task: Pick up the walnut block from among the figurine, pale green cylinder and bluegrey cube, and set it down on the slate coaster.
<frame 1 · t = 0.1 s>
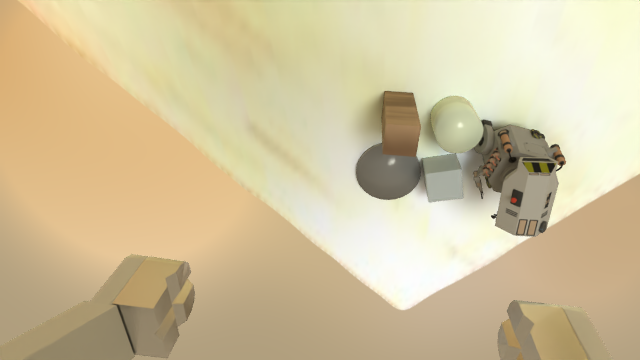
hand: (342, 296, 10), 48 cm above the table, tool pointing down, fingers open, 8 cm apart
pale green cylinder: (451, 115, 56), on the table
bluegrey cube: (440, 169, 61), on the table
slate coaster: (387, 170, 62), on the table
walnut block: (397, 105, 57), on the table
figurine: (499, 150, 58), on the table
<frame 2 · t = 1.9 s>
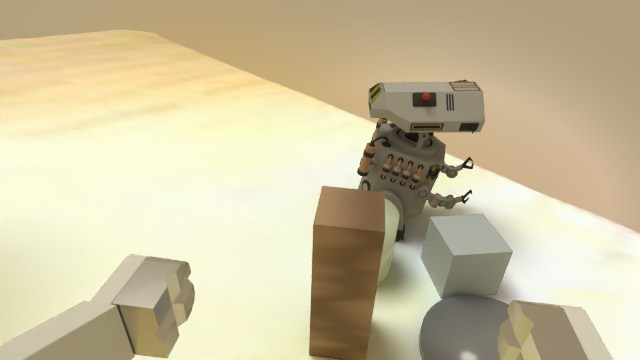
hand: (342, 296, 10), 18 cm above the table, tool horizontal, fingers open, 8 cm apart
pale green cylinder: (357, 263, 36), on the table
bluegrey cube: (456, 275, 36), on the table
slate coaster: (488, 355, 29), on the table
walnut block: (339, 335, 30), on the table
figurine: (406, 218, 43), on the table
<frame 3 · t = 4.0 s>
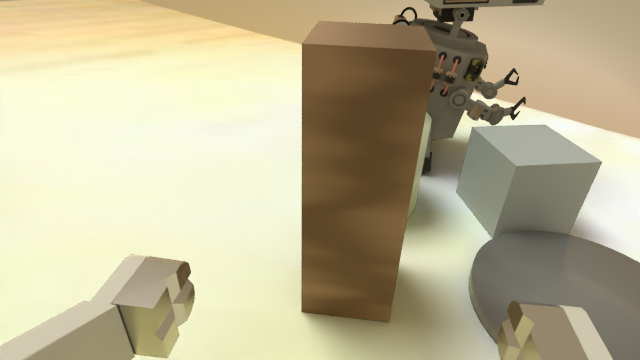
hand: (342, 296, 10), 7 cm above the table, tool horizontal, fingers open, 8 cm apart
pale green cylinder: (370, 198, 26), on the table
bluegrey cube: (508, 212, 25), on the table
slate coaster: (578, 310, 19), on the table
walnut block: (347, 284, 20), on the table
figurine: (431, 152, 33), on the table
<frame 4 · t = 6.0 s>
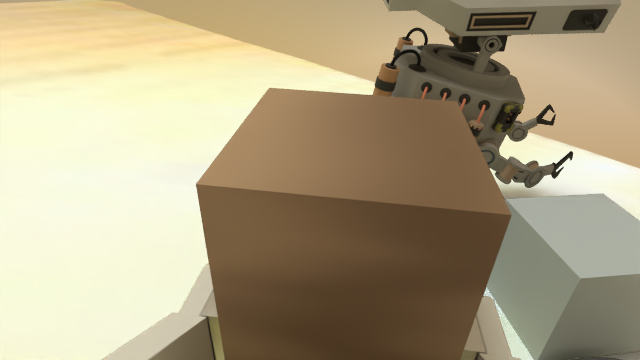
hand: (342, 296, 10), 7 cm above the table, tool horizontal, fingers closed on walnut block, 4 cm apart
bluegrey cube: (552, 311, 19), on the table
figurine: (444, 208, 26), on the table
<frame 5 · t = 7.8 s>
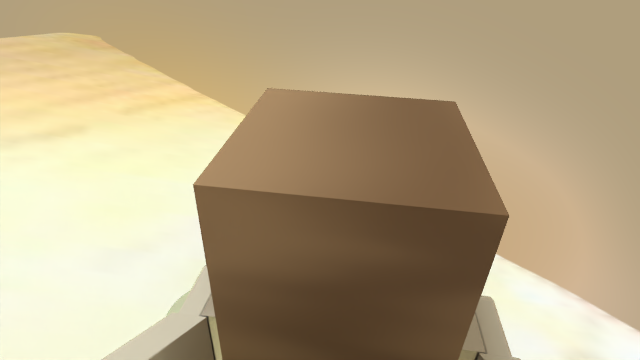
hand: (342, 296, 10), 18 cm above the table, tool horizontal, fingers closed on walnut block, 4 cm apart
when the fingers open (9 cm above the table, at t = 9.8 s): walnut block drops 1 cm, resting on slate coaster.
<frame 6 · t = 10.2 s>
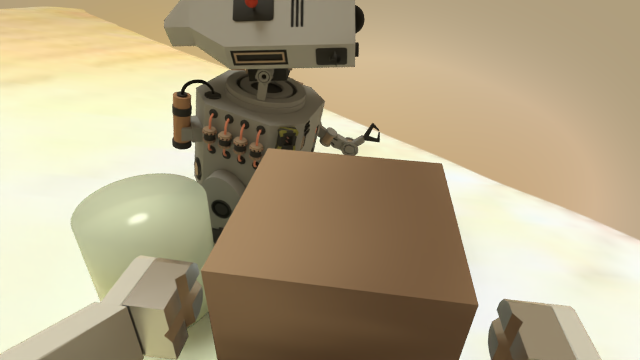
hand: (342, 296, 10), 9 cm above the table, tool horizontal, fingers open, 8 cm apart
pale green cylinder: (164, 292, 22), on the table
figurine: (282, 218, 28), on the table
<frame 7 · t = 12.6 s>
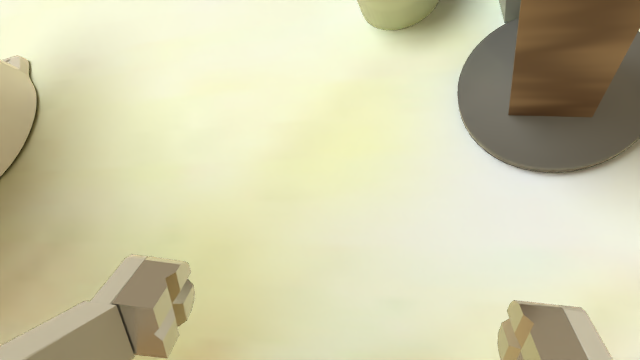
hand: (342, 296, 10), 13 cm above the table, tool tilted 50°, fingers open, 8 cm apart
slate coaster: (549, 90, 23), on the table
walnut block: (551, 84, 22), point 1 cm above the table, touching slate coaster
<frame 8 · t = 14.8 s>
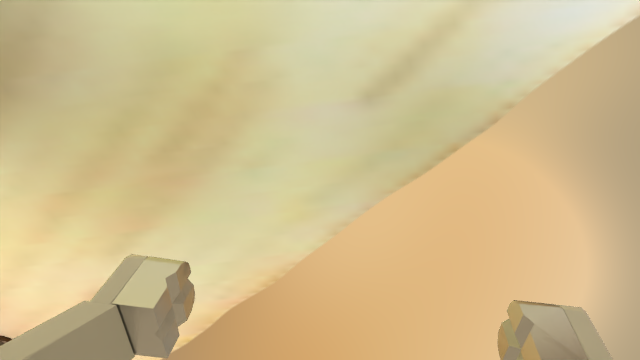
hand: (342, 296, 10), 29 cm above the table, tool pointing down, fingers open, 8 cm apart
candlestick: (10, 350, 70), on the table
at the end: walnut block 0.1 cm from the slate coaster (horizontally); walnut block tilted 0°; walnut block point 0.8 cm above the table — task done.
